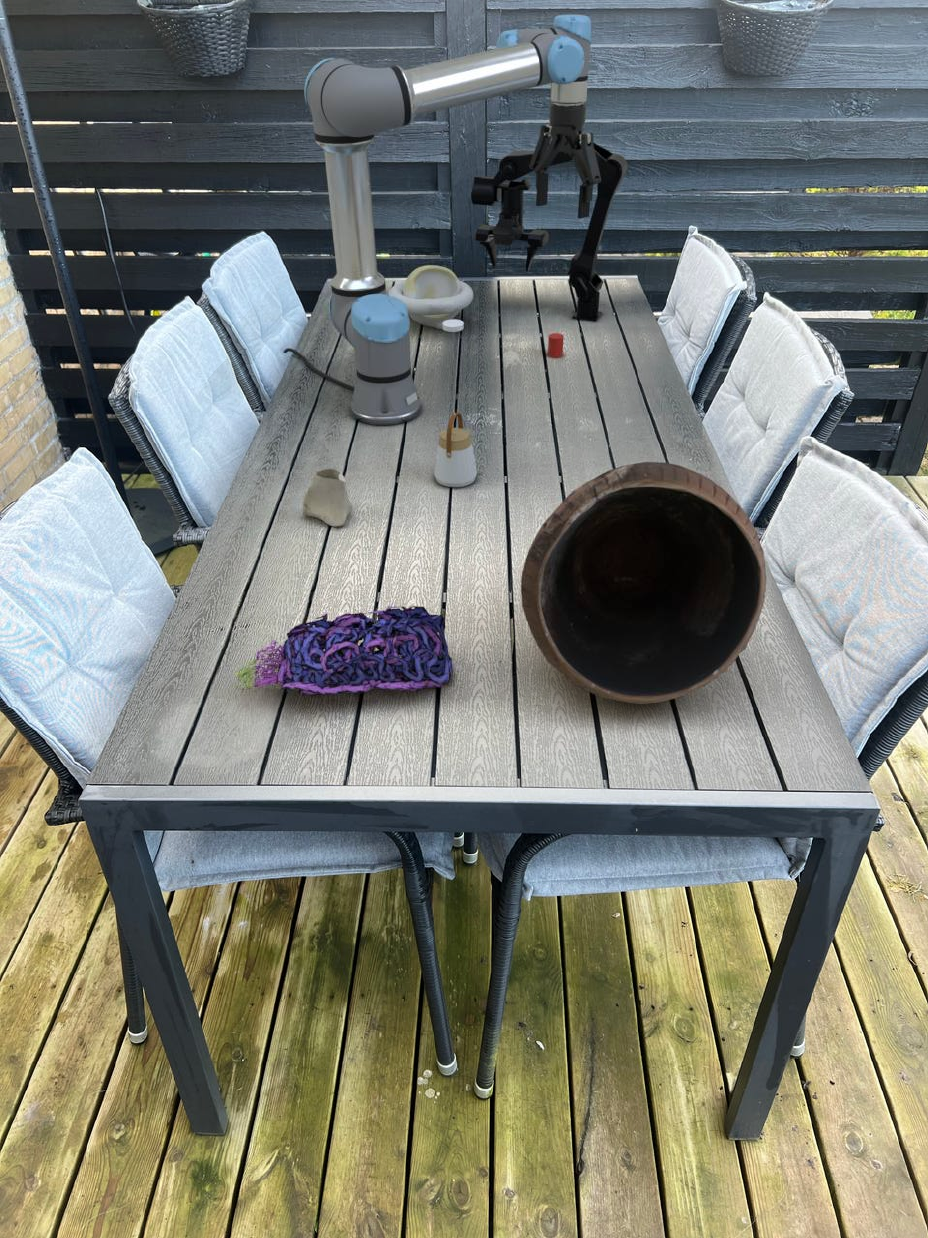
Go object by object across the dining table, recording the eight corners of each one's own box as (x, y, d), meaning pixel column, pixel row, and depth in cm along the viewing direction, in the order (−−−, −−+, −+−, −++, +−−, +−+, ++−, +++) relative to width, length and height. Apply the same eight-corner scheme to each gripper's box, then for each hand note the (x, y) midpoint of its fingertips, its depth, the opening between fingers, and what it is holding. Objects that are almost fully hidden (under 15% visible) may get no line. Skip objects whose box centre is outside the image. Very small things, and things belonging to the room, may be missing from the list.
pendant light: (468, 490, 174) (467, 333, 156) (427, 483, 176) (422, 328, 158) (482, 470, 180) (483, 317, 162) (443, 464, 183) (439, 312, 164)
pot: (560, 415, 140) (605, 423, 111) (739, 502, 146) (827, 531, 117) (469, 606, 146) (490, 660, 117) (644, 682, 152) (706, 752, 123)
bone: (352, 523, 169) (358, 468, 167) (345, 530, 162) (351, 474, 159) (303, 516, 169) (308, 461, 167) (294, 523, 162) (299, 466, 159)
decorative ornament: (458, 672, 122) (225, 684, 119) (455, 713, 130) (238, 725, 128) (450, 592, 130) (231, 602, 127) (447, 636, 138) (243, 646, 135)
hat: (387, 310, 253) (384, 253, 244) (467, 306, 255) (467, 249, 245) (392, 343, 233) (388, 283, 224) (478, 339, 235) (478, 279, 226)
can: (561, 351, 228) (562, 332, 226) (563, 357, 226) (564, 338, 223) (547, 352, 228) (547, 333, 225) (548, 357, 226) (549, 338, 223)
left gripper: (624, 108, 188) (614, 219, 201) (541, 93, 204) (537, 197, 216) (597, 112, 184) (589, 225, 197) (515, 97, 200) (512, 202, 213)
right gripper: (466, 211, 235) (467, 274, 244) (537, 218, 229) (534, 282, 239) (482, 201, 243) (482, 262, 252) (550, 207, 237) (547, 269, 247)
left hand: (562, 211), depth 207 cm, fingers open, 13 cm apart
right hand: (510, 269), depth 247 cm, fingers open, 9 cm apart
